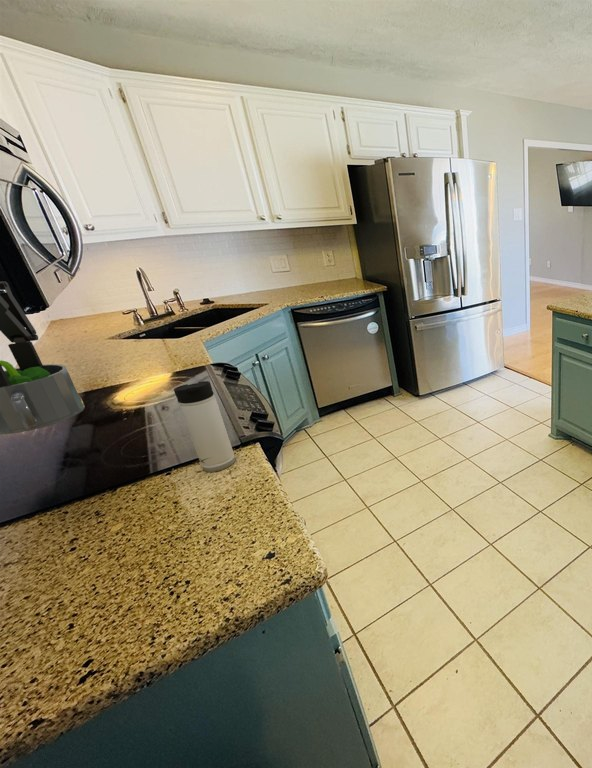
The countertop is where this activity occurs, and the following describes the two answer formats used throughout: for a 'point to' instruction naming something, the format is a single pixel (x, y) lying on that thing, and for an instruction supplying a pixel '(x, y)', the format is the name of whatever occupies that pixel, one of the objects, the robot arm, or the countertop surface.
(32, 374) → the bell pepper
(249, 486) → the countertop surface
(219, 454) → the travel mug
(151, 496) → the countertop surface
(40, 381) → the wide gray mug
